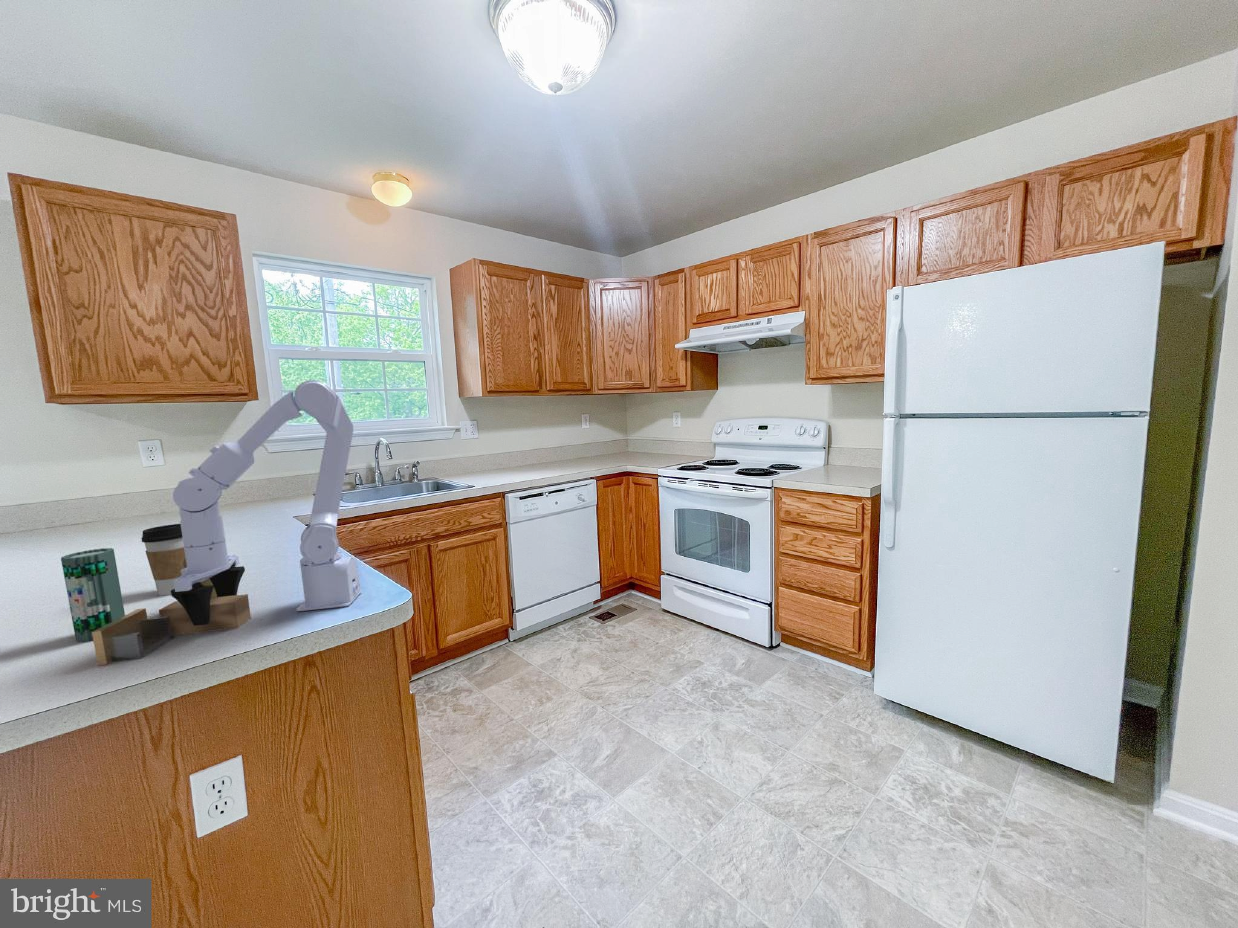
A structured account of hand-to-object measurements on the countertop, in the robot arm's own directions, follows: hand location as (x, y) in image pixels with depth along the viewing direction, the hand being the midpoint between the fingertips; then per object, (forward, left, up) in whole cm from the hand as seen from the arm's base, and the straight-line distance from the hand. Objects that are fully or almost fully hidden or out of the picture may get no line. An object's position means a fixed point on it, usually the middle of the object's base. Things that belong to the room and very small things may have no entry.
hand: (215, 615), depth 89 cm
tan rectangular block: (+1, 0, -2) cm, 3 cm away
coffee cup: (+22, -25, -2) cm, 33 cm away
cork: (+9, -13, -2) cm, 16 cm away
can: (+20, -3, -2) cm, 20 cm away
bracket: (+8, +7, -2) cm, 11 cm away
